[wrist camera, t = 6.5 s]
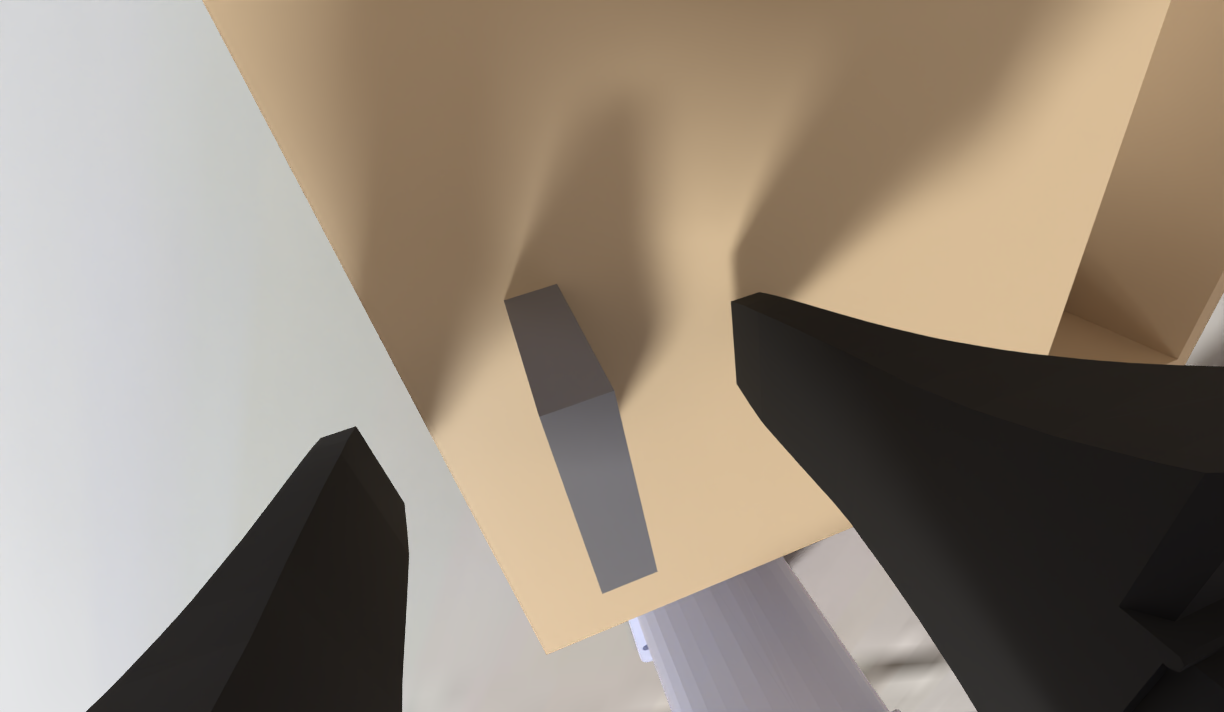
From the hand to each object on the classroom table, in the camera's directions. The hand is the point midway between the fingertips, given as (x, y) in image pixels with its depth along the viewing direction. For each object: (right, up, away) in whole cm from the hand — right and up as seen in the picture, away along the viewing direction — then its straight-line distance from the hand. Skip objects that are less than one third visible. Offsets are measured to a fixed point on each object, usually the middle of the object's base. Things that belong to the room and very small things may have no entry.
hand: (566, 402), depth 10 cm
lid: (+5, +3, +2) cm, 6 cm away
